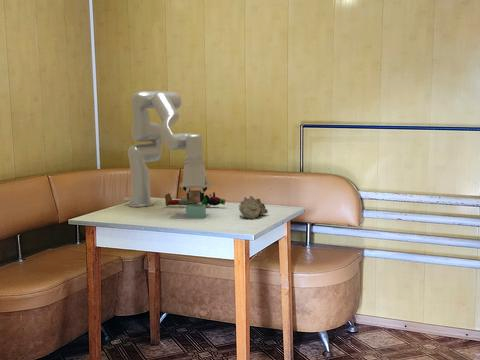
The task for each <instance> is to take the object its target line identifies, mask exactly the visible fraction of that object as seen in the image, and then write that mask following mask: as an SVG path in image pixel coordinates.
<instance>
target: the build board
mask: <svg viewBox="0 0 480 360" xmlns="http://www.w3.org/2000/svg"><path fill="white" fill-rule="evenodd" d="M208 216H210V213H206V216H205V217H203V218H199V217H186V213H182V212H181V213H176V214H174V215H172V216H171V217H170V218H169V220H170V219H171V220H204V219H206V218H207V217H208Z"/></svg>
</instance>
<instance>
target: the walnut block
mask: <svg viewBox="0 0 480 360" xmlns="http://www.w3.org/2000/svg"><path fill="white" fill-rule="evenodd" d="M200 193H201V191H200V189H199V190H191V189H190V192H189V203H201V202H200Z"/></svg>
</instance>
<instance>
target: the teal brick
mask: <svg viewBox="0 0 480 360" xmlns="http://www.w3.org/2000/svg"><path fill="white" fill-rule="evenodd" d="M206 208H207V207H206V205H191V204H189V205H185V209H186V212H185V214H186V217H199V218H203V217H205V216H206V214H207V209H206Z"/></svg>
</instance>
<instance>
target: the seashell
mask: <svg viewBox="0 0 480 360" xmlns="http://www.w3.org/2000/svg"><path fill="white" fill-rule="evenodd" d="M238 210H239V212H240V214H241V215H242V216H243V217H244V218H247V219H249V220H250V219H251V220H252V219H253V220H254V219H256V218H258V217H259V216H260V215H264V214H268V213H269V211H268V209H267V208H266V205H265V204H264V203H263V202H262V201H261V199H260V198H254V197H253V196H252V195H250V196H249V197H248V198H247V197H246V196H244V198H243V200H242V201H241V202H240V204H239V205H238Z"/></svg>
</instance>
